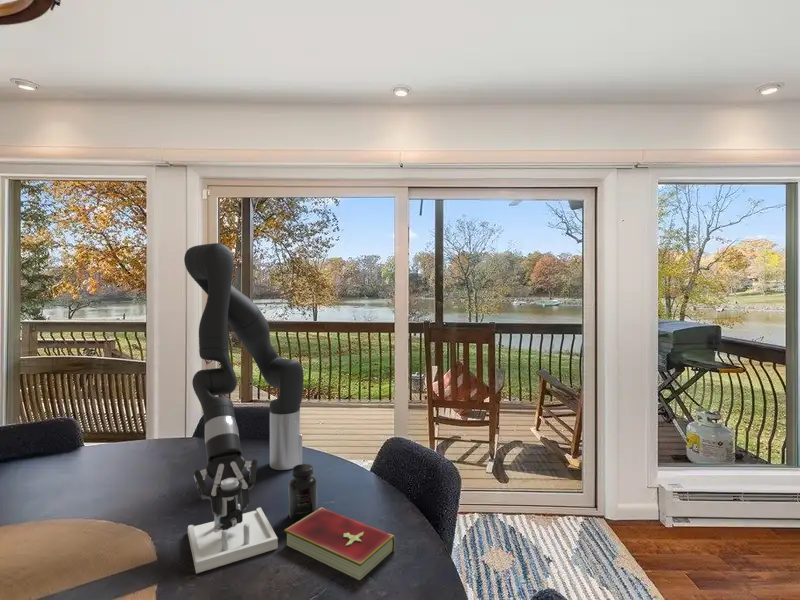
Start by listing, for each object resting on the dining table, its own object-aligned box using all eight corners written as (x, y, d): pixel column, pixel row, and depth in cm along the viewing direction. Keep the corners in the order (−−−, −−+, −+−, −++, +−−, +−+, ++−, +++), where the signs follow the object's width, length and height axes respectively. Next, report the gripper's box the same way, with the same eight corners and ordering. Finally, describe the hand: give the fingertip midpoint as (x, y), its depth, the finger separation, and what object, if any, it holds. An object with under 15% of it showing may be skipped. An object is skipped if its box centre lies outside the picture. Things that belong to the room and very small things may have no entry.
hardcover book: (322, 522, 104) (322, 505, 104) (395, 552, 93) (395, 533, 93) (284, 547, 94) (284, 528, 94) (360, 584, 83) (360, 563, 83)
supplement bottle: (322, 511, 109) (322, 464, 108) (307, 525, 102) (308, 475, 102) (298, 506, 111) (298, 460, 110) (283, 520, 104) (282, 471, 104)
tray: (259, 514, 107) (259, 493, 107) (277, 548, 93) (277, 524, 93) (187, 533, 99) (187, 510, 98) (196, 573, 85) (195, 547, 85)
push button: (222, 538, 91) (221, 492, 91) (206, 530, 94) (205, 485, 94) (248, 522, 97) (247, 479, 97) (232, 515, 100) (231, 473, 99)
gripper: (190, 437, 98) (196, 514, 88) (255, 427, 105) (268, 497, 95) (188, 452, 103) (194, 527, 93) (250, 442, 110) (262, 510, 100)
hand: (231, 511), depth 94 cm, fingers closed on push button, 5 cm apart
